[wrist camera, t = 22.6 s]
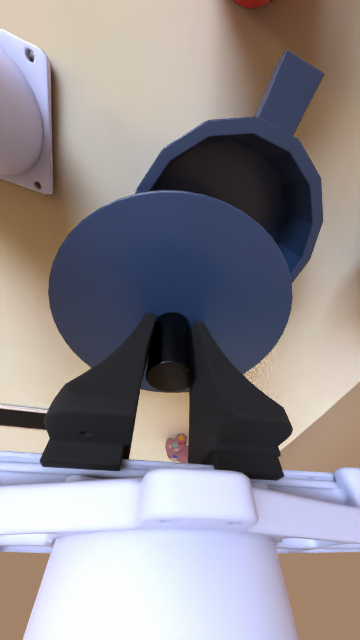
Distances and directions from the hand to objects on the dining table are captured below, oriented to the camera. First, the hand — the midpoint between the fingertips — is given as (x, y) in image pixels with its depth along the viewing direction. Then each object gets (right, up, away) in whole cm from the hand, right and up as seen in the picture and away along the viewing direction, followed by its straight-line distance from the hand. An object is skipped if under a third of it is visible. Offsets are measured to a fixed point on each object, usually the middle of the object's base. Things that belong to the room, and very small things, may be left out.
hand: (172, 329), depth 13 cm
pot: (+4, +9, +6) cm, 12 cm away
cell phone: (-30, -18, +26) cm, 44 cm away
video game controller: (+2, -25, +32) cm, 41 cm away
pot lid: (0, 0, +1) cm, 1 cm away
